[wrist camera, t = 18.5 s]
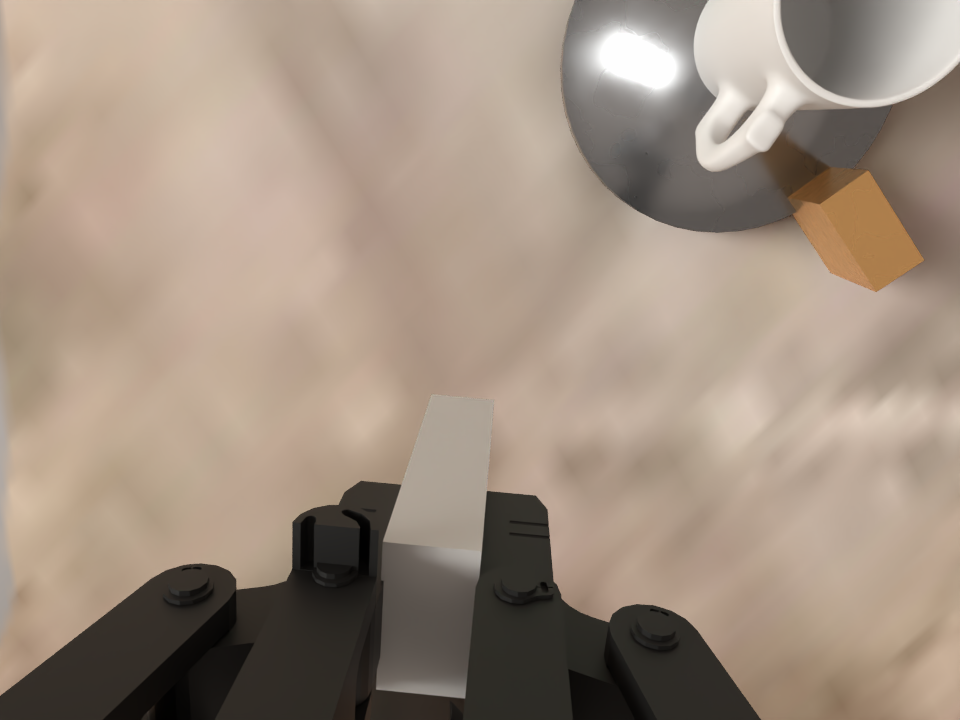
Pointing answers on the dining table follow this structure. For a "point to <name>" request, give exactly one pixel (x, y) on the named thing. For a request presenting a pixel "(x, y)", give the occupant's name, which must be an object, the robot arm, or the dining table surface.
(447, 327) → the dining table surface
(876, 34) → the mug
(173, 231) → the dining table surface
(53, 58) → the dining table surface
